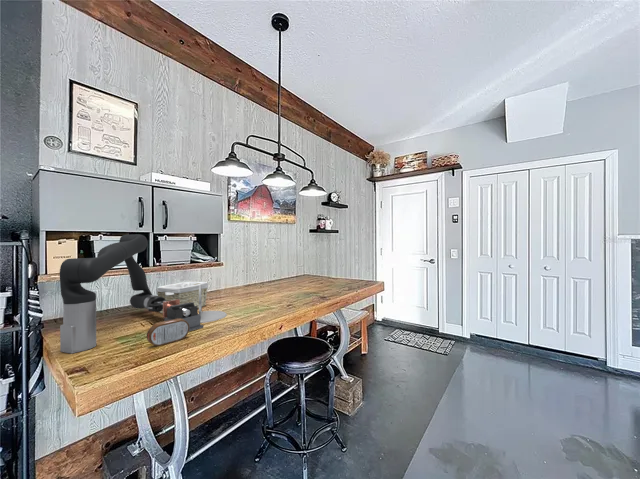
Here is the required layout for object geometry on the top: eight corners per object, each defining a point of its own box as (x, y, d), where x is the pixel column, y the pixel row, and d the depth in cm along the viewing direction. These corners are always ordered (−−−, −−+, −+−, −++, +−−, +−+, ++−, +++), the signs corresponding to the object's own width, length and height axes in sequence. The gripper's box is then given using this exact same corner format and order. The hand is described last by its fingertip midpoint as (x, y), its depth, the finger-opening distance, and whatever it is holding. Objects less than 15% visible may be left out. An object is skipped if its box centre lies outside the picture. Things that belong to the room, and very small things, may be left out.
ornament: (200, 312, 153) (200, 282, 153) (225, 310, 158) (225, 280, 158) (198, 323, 132) (198, 288, 132) (227, 320, 137) (227, 286, 137)
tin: (187, 336, 114) (186, 315, 114) (190, 337, 112) (190, 317, 112) (146, 347, 103) (146, 324, 103) (149, 349, 101) (149, 326, 101)
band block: (160, 331, 120) (160, 305, 121) (192, 323, 132) (192, 300, 132) (171, 336, 114) (171, 309, 114) (203, 327, 125) (203, 302, 125)
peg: (163, 317, 127) (162, 301, 127) (178, 313, 133) (178, 299, 133) (178, 322, 118) (178, 306, 118) (194, 319, 123) (194, 303, 123)
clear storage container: (187, 304, 174) (187, 280, 174) (209, 305, 169) (209, 281, 169) (155, 313, 151) (154, 286, 151) (179, 315, 146) (179, 288, 146)
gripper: (140, 298, 135) (155, 302, 124) (168, 293, 146) (184, 297, 135) (140, 313, 135) (155, 319, 124) (168, 308, 145) (184, 313, 135)
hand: (170, 308), depth 130 cm, fingers closed
